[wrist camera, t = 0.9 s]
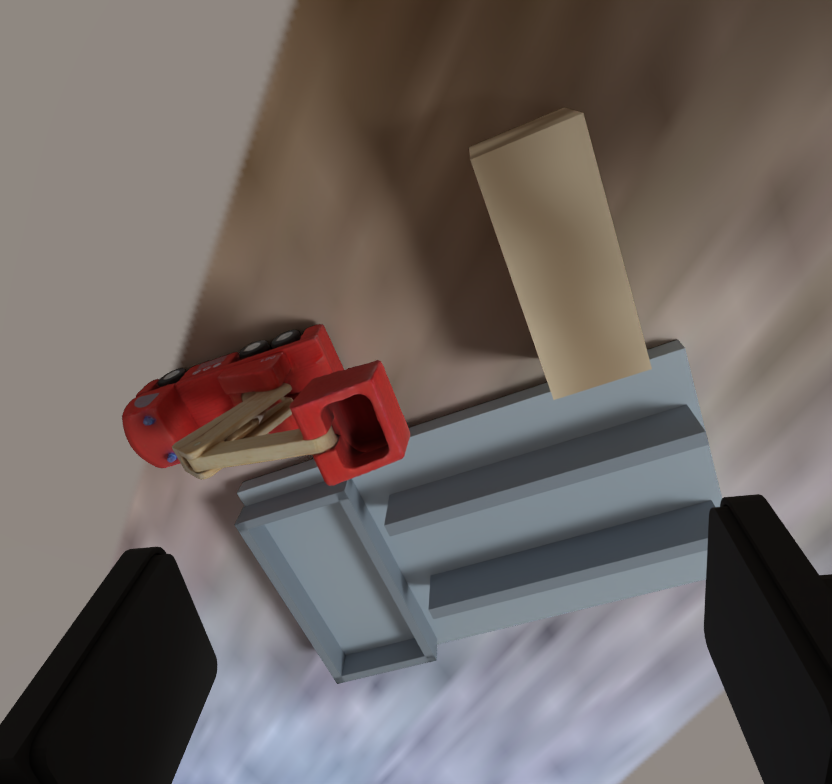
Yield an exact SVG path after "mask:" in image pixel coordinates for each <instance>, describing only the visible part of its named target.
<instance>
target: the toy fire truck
mask: <svg viewBox="0 0 832 784" xmlns="http://www.w3.org/2000/svg"><path fill="white" fill-rule="evenodd" d="M271 347H272V348H273V349H272V350H270V346H269V344H268V343H267V341H265V340H262V341H257V342H254V343H251V344H250V345H248V346H246V347H244V348H243V349H242V350H241V351H240V354H239V353H238V352H235V353H232V354H228V355H225V356H222V357H219V358H216V359H214V360H211V361H207V362H204V363H202V364H200V365H196V366H193V367H191V368H190V369H189V370H188V371H186V370H185V369H183V368H180V369H176V370H174V371H171V372H169V373H167V374H166V375H164V376H163V377H162V378H161V379H156V380H153V381H151V382H150V383H148V384H147V385H146V386H144V388H143V389H142V390H141V391H140V392H138V394H137V395H136V398H134V399H133V400H132V401H130V402H129V404H128V405H127V406H126V408H125V409H124V412H123V415H122V420H123V427H124V431H125V435H126V437H127V440H128V442H129V444H130V446H131V447H132V448H133V450H134V451H135V452H136V453H137V454H138V455H139V456H140V457H141V458H142V459H144V460H145V461H147V462H148V463H150V464H152V465H154V466H155V467H158V468H166V467H170V466H173V465H176V464H179V463H181V464H182V466H183V468H184V469H185V471H186V472H188V473H189V474H191V475H193V476H194V477H196V478H198V479H201V480H202V479H206V478H209V477H211V476H213V475H214V474H215V473H217V472H218V471H219V470H221V469H222V468H225V467H233V466H239V465H246V464H253V463H259V462H265V461H273V460H279V459H285V458H291V457H297V456H304V455H312V456H313V457H314V461H315V462H316V464H317V467H318V469H319V471H320V473H321V475H322V477H323V479H324V481H325V483H326V484H327V485H329V486H331V485H333V486H334V485H336V484H339V483H341V482H343V481H347V480H349V479H352V478H354V477H358V476H361V475H362V474H366V473H369V472H371V471H373V470H376V469H378V468H381V467H383V466H386V465H388V464H391V463H394V462H396V461H398V460H401V459H403V457H404V456H405V452H406V449H407V445H408V441H409V439H410V431H409V428H408V425H407V423H406V421H405V418H404V415H403V414H402V412H401V409H400V407H399V404H398V402H397V399H396V397H395V394H394V392H393V389H392V387H391V384H390V382H389V379H388V377H387V375H386V372H385V369H384V366H383V365H382V363H381V361H379V360H376V361H374V362H371V363H368V364H364V365H361V366H355V367H352V368H348V369H347V370H344V369H343V366H342V364H341V362H340V360H339V357H338V356H337V353H336V351H335V349H334V347H333V344H332V342H331V340H330V338H329V336H328V334H327V332H326V329H325V327H324V325H322V324H319V325H314V326H312V327H309V328H307V329H305V331H304V333H303V335H302V336H301V335H300V333H299V331H297V330H291V331H287V332H285V333H282V334H280V335H279V336H277V337H276V338H275V339H274V340H273V341H272V344H271Z"/></svg>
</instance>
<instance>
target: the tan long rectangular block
mask: <svg viewBox="0 0 832 784" xmlns="http://www.w3.org/2000/svg"><path fill="white" fill-rule="evenodd" d="M469 153H470V160H471V163H472V166H473V169H474V172H475V175H476V178H477V181H478V183H479V186H480V189H481V192H482V195H483V198H484V201H485V204H486V207H487V209H488V212H489V215H490V218H491V221H492V224H493V227H494V230H495V232H496V235H497V238H498V241H499V244H500V247H501V250H502V253H503V256H504V258H505V261H506V264H507V267H508V270H509V273H510V276H511V279H512V282H513V284H514V287H515V290H516V293H517V296H518V299H519V302H520V305H521V307H522V310H523V313H524V316H525V319H526V322H527V325H528V328H529V331H530V333H531V336H532V339H533V342H534V345H535V348H536V351H537V354H538V357H539V359H540V362H541V365H542V368H543V371H544V374H545V377H546V380H547V382H548V385H549V388H550V391H551V394H552V397H553V400H556V399H559V398H562V397H565V396H568V395H572V394H575V393H578V392H581V391H584V390H587V389H590V388H594V387H597V386H600V385H603V384H606V383H609V382H613V381H616V380H619V379H622V378H625V377H628V376H632V375H635V374H638V373H641V372H644V371H647V370H651V369H652V367H651V363H650V360H649V356H648V352H647V348H646V345H645V341H644V337H643V334H642V330H641V326H640V322H639V319H638V315H637V311H636V307H635V304H634V300H633V296H632V293H631V289H630V285H629V281H628V278H627V274H626V270H625V266H624V263H623V259H622V255H621V251H620V248H619V244H618V240H617V237H616V233H615V229H614V225H613V222H612V218H611V214H610V210H609V207H608V203H607V199H606V196H605V192H604V188H603V184H602V181H601V177H600V173H599V169H598V166H597V162H596V158H595V155H594V151H593V147H592V143H591V140H590V136H589V132H588V128H587V125H586V121H585V117H584V113H582V112H578V111H575V110H572V109H568V108H565V107H564V108H562V109H559V110H557V111H554V112H552V113H550V114H547V115H545V116H543V117H540V118H538V119H535V120H533V121H531V122H528V123H526V124H523V125H521V126H519V127H516V128H514V129H511V130H509V131H507V132H504V133H502V134H499V135H497V136H495V137H492V138H490V139H488V140H485V141H483V142H480V143H478V144H476V145H473V146H471V147H469Z"/></svg>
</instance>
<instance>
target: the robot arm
mask: <svg viewBox="0 0 832 784" xmlns="http://www.w3.org/2000/svg"><path fill="white" fill-rule="evenodd" d="M704 633H705V639H706V644H707V647H708V650H709V653H710V655H711V658H712V660H713V662H714V665H715V667H716V669H717V672H718V674H719V677H720V679H721V681H722V684H723V686H724V689H725V691H726V693H727V696H728V698H729V701H730V703H731V705H732V708H733V710H734V712H735V715H736V717H737V720H738V722H739V724H740V727H741V729H742V732H743V734H744V737H745V739H746V741H747V744H748V746H749V749H750V751H751V753H752V756H753V758H754V760H755V762H756V765H757V768H758V770H759V772H760V775H761V777H762V780H763V782H764V784H832V574H831V575H819V574H818V573H817V572H816V570H815V569H814V567H813V566H812V564H811V563H810V562H809V560H808V559H807V557H806V556H805V554H804V553H803V552H802V550H801V549H800V547H799V546H798V544H797V543H796V542H795V540H794V539H793V537H792V536H791V534H790V533H789V532H788V530H787V529H786V527H785V526H784V524H783V523H782V522H781V520H780V519H779V517H778V516H777V514H776V513H775V512H774V510H773V509H772V507H771V506H770V504H769V503H768V502H767V500H766V499H765V498H764V497H763V496H762V495H759V494H758V495H746V496H735V497H724V498H722V500H721V502H720V507H713V508H711V509H710V511H709V525H708V547H707V569H706V592H705V614H704ZM216 673H217V659H216V655H215V653H214V650H213V648H212V646H211V643H210V641H209V639H208V636H207V634H206V631H205V629H204V627H203V624H202V622H201V620H200V617H199V615H198V613H197V610H196V608H195V605H194V603H193V601H192V598H191V596H190V594H189V591H188V589H187V586H186V584H185V582H184V579H183V577H182V575H181V572H180V570H179V568H178V565H177V563H176V560H175V559H174V557H173V556H172V555H171V554H166V552H165V550H163V549H162V548H161V547H149V548H138V549H129V550H127V551H125V552H124V553H123V554H122V556H121V557H120V558H119V560H118V561H117V562H116V564H115V565H114V567H113V568H112V569H111V571H110V572H109V574H108V575H107V576H106V578H105V579H104V581H103V582H102V583H101V585H100V586H99V588H98V589H97V590H96V592H95V593H94V595H93V596H92V597H91V599H90V600H89V602H88V603H87V604H86V606H85V607H84V608H83V610H82V611H81V613H80V614H79V615H78V617H77V618H76V620H75V621H74V622H73V624H72V625H71V627H70V628H69V629H68V631H67V632H66V634H65V635H64V636H63V638H62V639H61V641H60V642H59V643H58V645H57V646H56V648H55V649H54V650H53V652H52V653H51V655H50V656H49V657H48V659H47V660H46V661H45V663H44V664H43V666H42V667H41V668H40V670H39V671H38V673H37V674H36V675H35V677H34V678H33V680H32V681H31V683H30V684H29V685H28V687H27V688H26V689H25V691H24V692H23V694H22V695H21V696H20V698H19V699H18V700H17V702H16V703H15V705H14V706H13V708H12V709H11V710H10V712H9V713H8V714H7V716H6V717H5V719H4V720H3V721H2V723H1V724H0V784H171V783H172V781H173V779H174V776H175V774H176V771H177V769H178V767H179V764H180V762H181V759H182V757H183V755H184V752H185V750H186V747H187V745H188V743H189V740H190V738H191V735H192V733H193V731H194V728H195V726H196V723H197V721H198V719H199V716H200V714H201V711H202V709H203V707H204V704H205V702H206V699H207V697H208V695H209V692H210V690H211V687H212V685H213V683H214V680H215V677H216Z"/></svg>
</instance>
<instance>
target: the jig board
mask: <svg viewBox="0 0 832 784" xmlns="http://www.w3.org/2000/svg"><path fill="white" fill-rule="evenodd" d="M647 352H648V356H649V360H650V363H651V367H652V369H651V370H647V371H644V372H641V373H638V374H635V375H632V376H628V377H625V378H622V379H619V380H616V381H613V382H609V383H606V384H603V385H600V386H597V387H594V388H590V389H587V390H584V391H581V392H578V393H575V394H572V395H568V396H565V397H562V398H559V399H556V400H553V397H552V394H551V391H550V388H549V385H548V382H547V383H544V384H541V385H538V386H535V387H532V388H529V389H526V390H523V391H520V392H517V393H514V394H511V395H508V396H505V397H502V398H499V399H495V400H492V401H489V402H486V403H483V404H480V405H477V406H474V407H471V408H468V409H465V410H462V411H459V412H456V413H453V414H450V415H447V416H444V417H441V418H437V419H434V420H431V421H428V422H425V423H422V424H419V425H416V426H413V427H410V428H409V431H410V439H409V441H408V445H407V449H406V452H405V456H404V457H403V459H401V460H398V461H396V462H394V463H391V464H388V465H386V466H383V467H381V468H378V469H376V470H373V471H371V472H369V473H366V474H362V475H361V476H358V477H354V478H352V479H349V480H347V481H343V482H341V483H339V484H336V485H334V486H333V485H331V486H329V485H327V484H326V483H325V481H324V479H323V477H322V475H321V473H320V471H319V469H318V467H317V464H316V462H315V461H314V459H312V460H309V461H306V462H303V463H300V464H297V465H294V466H291V467H288V468H285V469H282V470H279V471H276V472H273V473H269V474H266V475H263V476H260V477H257V478H254V479H251V480H248V481H245V482H243V483H242V485H241V486H240V488H239V490H238V492H237V494H238V496H239V497H240V499H241V501H242V502H243V504H244V505H245V507H243V509H242V511H241V513H240V515H239V517H238V519H237V521H236V523H235V526H236V528H237V530H238V531H239V533H240V534H241V536H242V537H243V539H244V540H245V542H246V543H247V545H248V547H249V548H250V550H251V551H252V553H253V554H254V556H255V557H256V559H257V560H258V562H259V564H260V565H261V567H262V568H263V570H264V571H265V573H266V574H267V576H268V578H269V579H270V581H271V582H272V584H273V585H274V587H275V588H276V590H277V591H278V593H279V595H280V596H281V598H282V599H283V601H284V602H285V604H286V605H287V607H288V608H289V610H290V612H291V613H292V615H293V616H294V618H295V619H296V621H297V622H298V624H299V625H300V627H301V629H302V630H303V632H304V633H305V635H306V636H307V638H308V639H309V641H310V642H311V644H312V646H313V647H314V649H315V650H316V652H317V653H318V655H319V656H320V658H321V659H322V661H323V663H324V664H325V666H326V667H327V669H328V670H329V672H330V673H331V675H332V676H333V678H334V680H335V681H336V683H337V684H339V683H343V682H347V681H352V680H356V679H360V678H364V677H369V676H373V675H377V674H381V673H385V672H390V671H394V670H398V669H402V668H407V667H411V666H415V665H419V664H423V663H428V662H432V661H436V660H437V644H442V643H446V642H450V641H454V640H458V639H462V638H466V637H470V636H475V635H479V634H483V633H487V632H491V631H495V630H499V629H503V628H507V627H512V626H516V625H520V624H524V623H528V622H532V621H536V620H540V619H545V618H549V617H553V616H557V615H561V614H565V613H569V612H573V611H577V610H582V609H586V608H590V607H594V606H598V605H602V604H606V603H610V602H615V601H619V600H623V599H627V598H631V597H635V596H639V595H643V594H647V593H652V592H656V591H660V590H664V589H668V588H672V587H676V586H680V585H685V584H689V583H693V582H697V581H701V580H705V579H706V569H707V547H708V525H709V511H710V509H711V508H713V507H720V502H721V500H722V496H721V492H720V488H719V484H718V480H717V476H716V472H715V468H714V464H713V460H712V456H711V451H710V447H709V443H708V439H707V435H706V431H705V427H704V423H703V419H702V415H701V411H700V407H699V403H698V399H697V395H696V391H695V387H694V383H693V379H692V375H691V371H690V367H689V362H688V358H687V354H686V350H685V348H684V346H683V345H682V344H681V343H680V341H679V340H676V341H673V342H670V343H667V344H663V345H660V346H657V347H654V348H651V349H648V350H647Z"/></svg>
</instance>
